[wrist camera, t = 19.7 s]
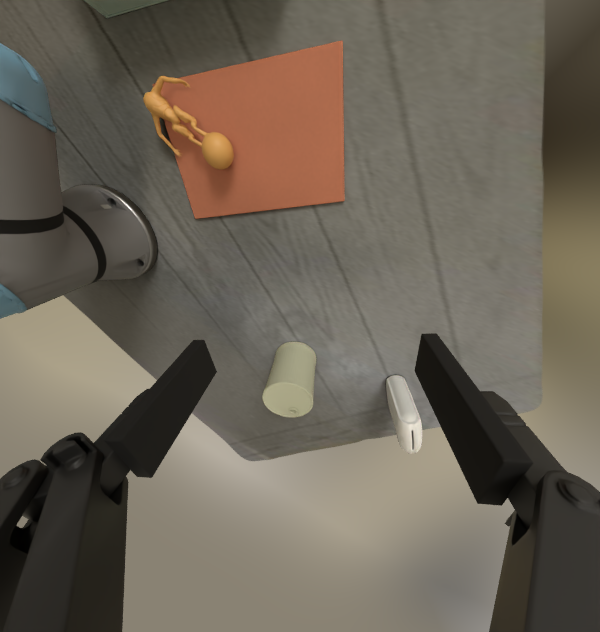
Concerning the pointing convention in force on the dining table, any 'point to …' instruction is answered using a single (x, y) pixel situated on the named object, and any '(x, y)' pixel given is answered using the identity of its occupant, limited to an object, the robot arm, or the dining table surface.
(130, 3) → the basin
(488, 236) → the dining table surface
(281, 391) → the can
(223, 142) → the figurine
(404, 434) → the white curved piece
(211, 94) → the mat
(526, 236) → the dining table surface
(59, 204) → the robot arm
